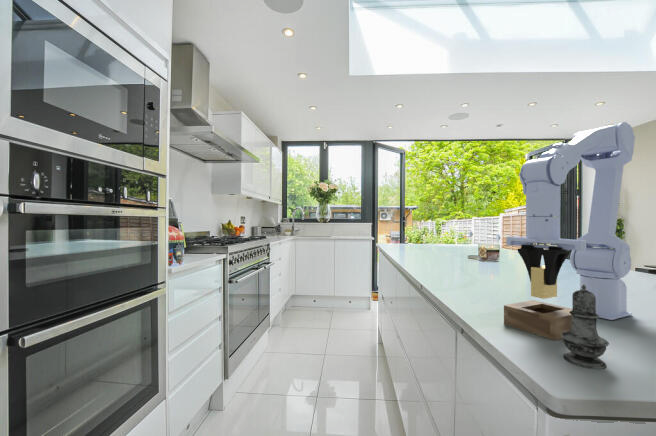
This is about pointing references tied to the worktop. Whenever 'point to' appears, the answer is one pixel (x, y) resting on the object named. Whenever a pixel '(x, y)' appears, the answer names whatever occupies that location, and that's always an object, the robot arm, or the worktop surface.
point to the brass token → (541, 284)
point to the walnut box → (539, 318)
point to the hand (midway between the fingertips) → (542, 283)
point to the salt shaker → (584, 332)
